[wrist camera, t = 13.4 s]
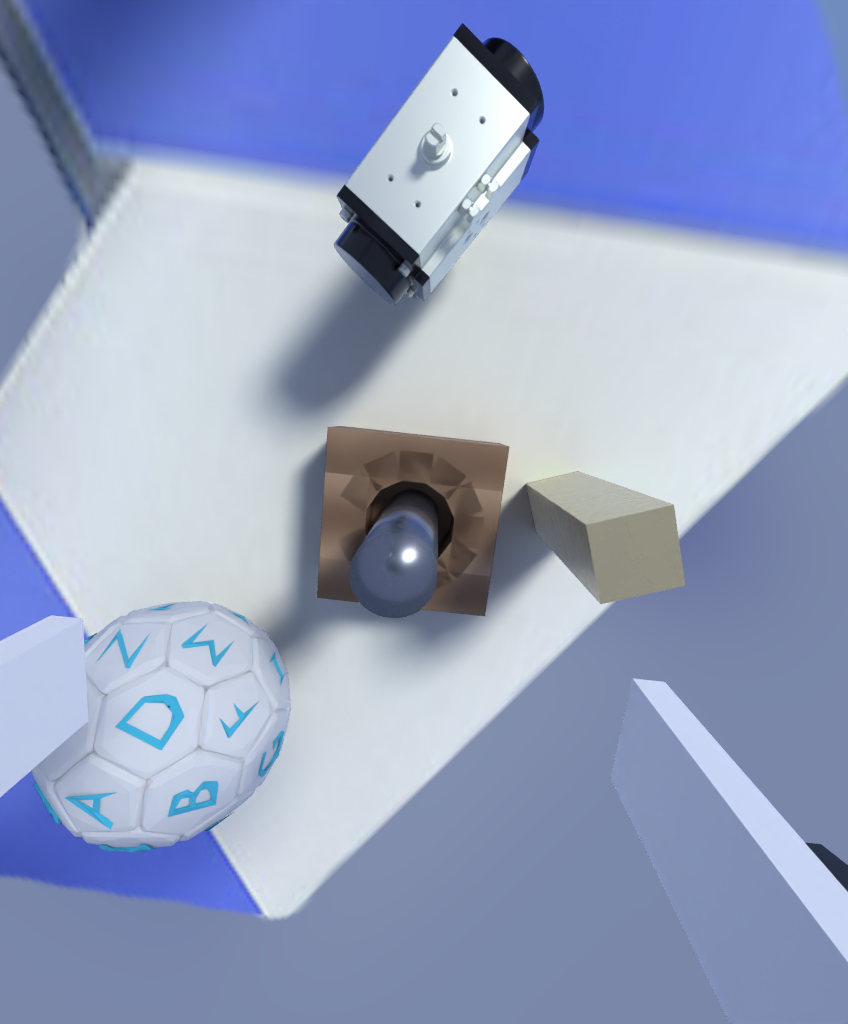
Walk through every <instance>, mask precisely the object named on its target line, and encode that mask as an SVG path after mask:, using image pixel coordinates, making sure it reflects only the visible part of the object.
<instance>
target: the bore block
mask: <svg viewBox="0 0 848 1024" xmlns="http://www.w3.org/2000/svg"><path fill="white" fill-rule="evenodd" d="M508 452H509V446H506V445H503V444H500V443H491V442H482V441H473V440H464V439H455V438H446V437H436V436H427V435H418V434H409V433H400V432H391V431H381V430H372V429H363V428H354V427H345V426H336V427H328V431H327V447H326V463H325V479H324V495H323V511H322V527H321V543H320V559H319V575H318V591H317V598H325V599H334V600H343V601H352V602H359V601H358V599H357V598H356V596H355V595H354V593H353V591H352V588H351V585H350V579H349V570H350V565H351V561H352V559H353V557H354V555H355V553H356V552H357V550H358V549H359V547H360V546H361V544H362V543H363V541H364V540H365V538H366V536H367V535H368V533H369V532H370V530H371V529H372V527H373V526H374V524H375V523H376V521H377V520H378V518H379V517H380V515H381V514H382V512H383V511H384V509H385V508H386V506H387V505H388V503H389V502H390V500H391V499H392V498H393V497H394V496H395V495H396V494H397V493H399V492H401V491H404V490H409V489H415V490H419V491H422V492H424V493H426V494H428V495H429V496H430V497H431V498H432V499H433V501H434V502H435V504H436V506H437V509H438V559H437V584H436V588H435V591H434V593H433V595H432V597H431V599H430V600H429V602H428V603H427V604H426V605H425V606H424V607H423V608H422V609H424V610H433V611H442V612H451V613H460V614H469V615H478V616H485V612H486V605H487V598H488V591H489V584H490V577H491V570H492V563H493V556H494V549H495V542H496V536H497V529H498V522H499V515H500V508H501V501H502V494H503V487H504V480H505V473H506V466H507V459H508Z"/></svg>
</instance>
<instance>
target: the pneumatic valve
mask: <svg viewBox="0 0 848 1024" xmlns="http://www.w3.org/2000/svg"><path fill="white" fill-rule="evenodd" d="M543 113H544V99H543V94H542V90H541V87H540V84H539V81H538V79H537V77H536V74H535V73H534V71H533V69H532V67H531V66H530V64H529V63H528V61H527V60H526V58H525V57H524V56H523V55H522V53H521V52H520V51H519V50H518V49H517V48H516V47H514V46H513V45H512V44H511V43H509V42H507V41H506V40H503V39H501V38H489V39H487V40H486V41H484V42H483V44H482V43H481V42H480V40H479V39H478V38H477V37H476V36H475V35H474V34H473V33H472V32H471V31H470V30H469V29H468V28H467V27H466V26H465V25H464V24H463V23H462V24H461V26H460V27H459V28H458V30H457V31H456V32H455V34H454V35H453V37H452V38H451V39H450V41H449V42H448V43H447V45H446V46H445V48H444V49H443V50H442V52H441V53H440V54H439V56H438V57H437V59H436V60H435V61H434V63H433V64H432V65H431V67H430V68H429V69H428V71H427V72H426V74H425V75H424V76H423V78H422V79H421V80H420V82H419V83H418V85H417V86H416V87H415V89H414V90H413V91H412V93H411V94H410V96H409V97H408V98H407V100H406V101H405V102H404V104H403V105H402V107H401V108H400V109H399V111H398V112H397V113H396V115H395V116H394V117H393V119H392V120H391V122H390V123H389V124H388V126H387V127H386V128H385V130H384V131H383V133H382V134H381V135H380V137H379V138H378V139H377V141H376V142H375V144H374V145H373V146H372V148H371V149H370V150H369V152H368V153H367V154H366V156H365V157H364V159H363V160H362V161H361V163H360V164H359V165H358V167H357V168H356V170H355V171H354V172H353V174H352V175H351V176H350V178H349V179H348V181H347V182H346V183H345V185H344V186H343V187H342V189H341V190H340V192H339V193H338V194H337V198H338V200H339V202H340V205H341V207H342V210H341V212H340V213H339V214H340V216H341V218H342V219H343V220H344V221H345V222H347V223H349V224H348V225H347V226H346V228H345V229H344V231H343V232H342V233H341V235H340V236H339V237H338V239H337V240H336V241H335V243H334V247H335V249H336V251H337V252H338V253H339V255H340V256H341V257H342V259H343V260H344V261H345V262H346V263H347V264H348V265H349V266H350V268H351V269H352V270H353V271H354V272H355V273H356V274H357V275H358V276H359V277H360V278H361V279H362V280H363V281H364V282H365V283H366V284H367V285H368V286H370V287H371V288H372V289H373V290H374V291H375V292H376V293H377V294H379V295H380V296H381V297H382V298H384V299H385V300H386V301H388V302H389V303H391V304H393V305H396V304H397V303H398V302H399V300H400V299H401V298H402V296H403V295H404V294H406V295H407V296H409V297H411V296H412V295H413V296H414V297H415V298H416V299H418V297H419V298H420V299H421V300H422V301H425V300H426V298H427V297H428V296H429V295H430V293H431V292H432V291H433V290H434V289H435V287H436V286H437V285H438V284H439V282H440V281H441V280H442V279H443V277H444V276H445V275H446V274H447V272H448V271H449V270H450V269H451V267H452V266H453V265H454V264H455V262H456V261H457V260H458V259H459V257H460V256H461V255H462V254H463V252H464V251H465V250H466V249H467V248H468V246H469V245H470V244H471V243H472V241H473V240H474V239H475V238H476V236H477V235H478V234H479V233H480V231H481V230H482V229H483V228H484V226H485V225H486V224H487V223H488V221H489V220H490V219H491V218H492V216H493V215H494V214H495V213H496V211H497V210H498V209H499V208H500V206H501V205H502V204H503V203H504V202H505V200H506V199H507V198H508V197H509V195H510V194H511V193H512V192H513V190H514V189H515V188H516V187H517V185H518V184H519V183H520V182H521V180H522V179H523V178H524V177H525V175H526V174H527V173H528V170H529V167H530V164H531V162H532V159H533V156H534V154H535V151H536V148H537V146H538V143H539V139H538V138H537V137H536V136H535V135H534V134H533V133H532V132H533V131H534V130H535V129H536V127H537V126H538V125H539V124H540V122H541V120H542V117H543Z"/></svg>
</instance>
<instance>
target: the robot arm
mask: <svg viewBox="0 0 848 1024" xmlns="http://www.w3.org/2000/svg"><path fill="white" fill-rule="evenodd" d="M86 722H88V703H87V685H86V667H85V649H84V632H83V619H79V618H70V617H61V616H52V615H51V616H49V617H47V618H45V619H43V620H41V621H39V622H37V623H35V624H33V625H31V626H29V627H27V628H25V629H23V630H21V631H19V632H17V633H15V634H13V635H11V636H9V637H7V638H5V639H4V640H2V641H0V797H1V796H2V795H3V794H4V793H6V792H7V791H8V790H9V789H10V788H11V787H13V786H14V785H15V784H16V783H17V782H18V781H19V780H21V779H22V778H23V777H24V776H25V775H26V774H28V773H29V772H30V771H31V770H32V769H33V768H34V767H36V766H37V765H38V764H39V763H40V762H41V761H43V760H44V759H45V758H46V757H47V756H48V755H49V754H51V753H52V752H53V751H54V750H55V749H56V748H58V747H59V746H60V745H61V744H62V743H63V742H64V741H66V740H67V739H68V738H69V737H70V736H71V735H73V734H74V733H75V732H76V731H77V730H78V729H79V728H81V727H82V726H83V725H84V724H85V723H86ZM611 780H612V782H613V784H614V786H615V788H616V790H617V792H618V794H619V796H620V798H621V800H622V802H623V804H624V807H625V809H626V810H627V812H628V814H629V817H630V819H631V821H632V823H633V825H634V827H635V829H636V831H637V833H638V835H639V837H640V839H641V841H642V843H643V846H644V847H645V849H646V852H647V853H648V856H649V858H650V860H651V862H652V864H653V866H654V868H655V870H656V872H657V874H658V876H659V878H660V880H661V882H662V885H663V886H664V888H665V891H666V893H667V895H668V897H669V899H670V901H671V903H672V905H673V907H674V909H675V911H676V913H677V915H678V917H679V919H680V921H681V923H682V926H683V928H684V930H685V932H686V934H687V936H688V938H689V940H690V942H691V944H692V946H693V948H694V950H695V952H696V954H697V956H698V958H699V960H700V962H701V965H702V967H703V969H704V970H705V972H706V975H707V977H708V979H709V981H710V983H711V985H712V987H713V989H714V991H715V993H716V995H717V997H718V999H719V1001H720V1004H721V1005H722V1008H723V1010H724V1012H725V1014H726V1016H727V1018H728V1020H729V1022H730V1024H848V865H847V864H845V863H844V862H843V861H842V860H840V859H839V858H838V857H837V856H835V855H834V854H833V853H831V852H830V851H829V850H828V849H826V848H825V847H824V846H822V845H821V844H813V843H805V842H804V841H803V840H802V839H801V838H800V837H799V835H798V834H797V833H796V832H795V831H794V830H793V829H792V827H791V826H790V825H789V824H788V823H787V822H786V821H785V820H784V818H783V817H782V816H781V815H780V814H779V813H778V811H777V810H776V809H775V808H774V807H773V806H772V804H771V803H770V802H769V801H768V800H767V799H766V798H765V796H764V795H763V794H762V793H761V792H760V791H759V790H758V788H757V787H756V786H755V785H754V784H753V783H752V782H751V780H750V779H749V778H748V777H747V776H746V775H745V774H744V772H743V771H742V770H741V769H740V768H739V767H738V766H737V764H736V763H735V762H734V761H733V760H732V759H731V758H730V756H729V755H728V754H727V753H726V752H725V751H724V750H723V748H722V747H721V746H720V745H719V744H718V743H717V742H716V740H715V739H714V738H713V737H712V736H711V735H710V733H709V732H708V731H707V730H706V729H705V728H704V726H703V725H702V724H701V723H700V722H699V721H698V720H697V719H696V718H695V716H694V715H693V714H692V713H691V712H690V710H689V709H688V708H687V707H686V706H685V705H684V704H683V703H682V701H681V700H680V699H679V698H678V697H677V696H676V694H675V693H674V692H673V691H672V690H671V689H670V688H669V687H668V685H667V684H666V683H665V682H660V681H650V680H641V679H632V683H631V688H630V692H629V697H628V701H627V706H626V710H625V715H624V719H623V724H622V728H621V733H620V738H619V742H618V747H617V751H616V756H615V760H614V765H613V770H612V774H611Z"/></svg>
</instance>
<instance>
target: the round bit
mask: <svg viewBox="0 0 848 1024" xmlns="http://www.w3.org/2000/svg"><path fill="white" fill-rule="evenodd" d="M437 559H438V509H437V506H436V504H435V502H434V501H433V499H432V498H431V497H430V496H429V495H428V494H426V493H424V492H422V491H419V490H415V489H409V490H404V491H401V492H399V493H397V494H396V495H395V496H394V497H393V498H392V499H391V500H390V502H389V503H388V505H387V506H386V508H385V509H384V511H383V512H382V514H381V515H380V517H379V518H378V520H377V521H376V523H375V524H374V526H373V527H372V529H371V530H370V532H369V533H368V535H367V536H366V538H365V540H364V541H363V543H362V544H361V546H360V547H359V549H358V550H357V552H356V553H355V555H354V557H353V559H352V561H351V565H350V570H349V579H350V585H351V588H352V591H353V593H354V595H355V596H356V598H357V599H358V601H359V602H360V603H361V604H362V605H363V606H364V607H365V608H367V609H368V610H369V611H371V612H373V613H375V614H377V615H380V616H383V617H389V618H400V617H405V616H409V615H411V614H414V613H416V612H417V611H419V610H420V609H422V608H423V607H424V606H425V605H426V604H427V603H428V602H429V600H430V599H431V597H432V595H433V593H434V591H435V588H436V584H437Z"/></svg>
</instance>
